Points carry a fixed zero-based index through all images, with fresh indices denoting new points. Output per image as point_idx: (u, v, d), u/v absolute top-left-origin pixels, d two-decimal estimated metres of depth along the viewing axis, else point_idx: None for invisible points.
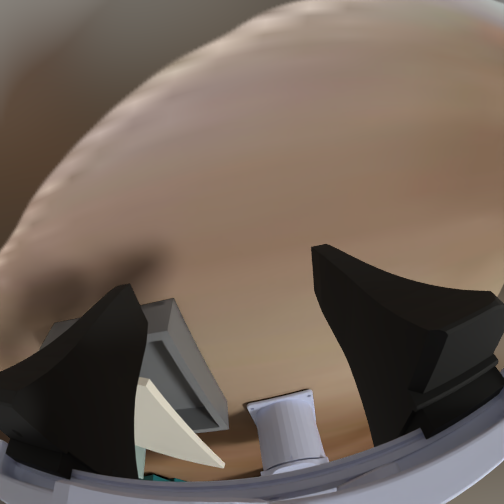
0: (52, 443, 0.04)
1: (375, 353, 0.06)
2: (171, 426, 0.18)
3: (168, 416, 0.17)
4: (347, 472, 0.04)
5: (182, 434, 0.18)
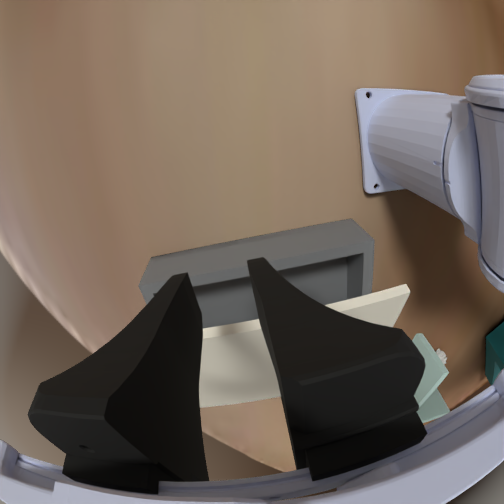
0: (144, 455, 0.04)
1: (278, 379, 0.06)
2: (231, 343, 0.14)
3: None
4: (346, 472, 0.04)
5: (254, 336, 0.14)
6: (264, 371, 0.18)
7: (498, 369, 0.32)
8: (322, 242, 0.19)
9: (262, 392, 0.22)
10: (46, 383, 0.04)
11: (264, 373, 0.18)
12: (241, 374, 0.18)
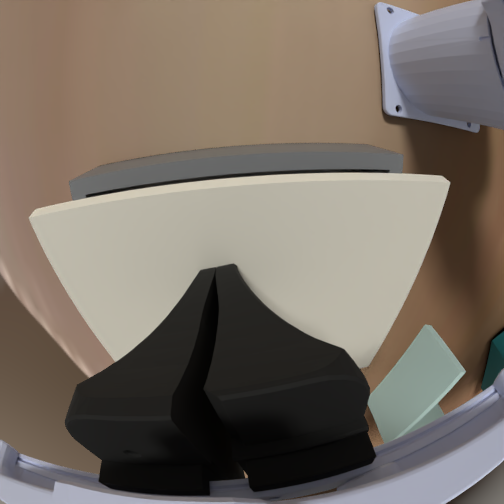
0: (202, 455, 0.04)
1: None
2: (181, 220, 0.09)
3: (121, 210, 0.08)
4: (346, 472, 0.04)
5: (219, 206, 0.09)
6: None
7: None
8: (333, 149, 0.13)
9: None
10: (85, 385, 0.04)
11: None
12: None
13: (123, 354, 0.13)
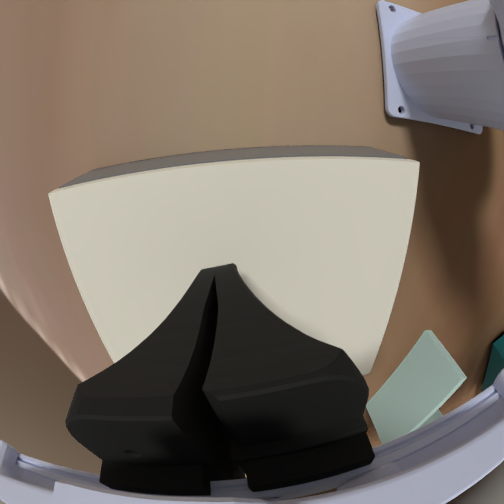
0: (203, 454, 0.04)
1: None
2: (182, 195, 0.10)
3: (131, 185, 0.10)
4: (346, 472, 0.04)
5: (214, 182, 0.10)
6: None
7: None
8: (335, 151, 0.12)
9: None
10: (86, 385, 0.04)
11: None
12: None
13: (120, 349, 0.14)
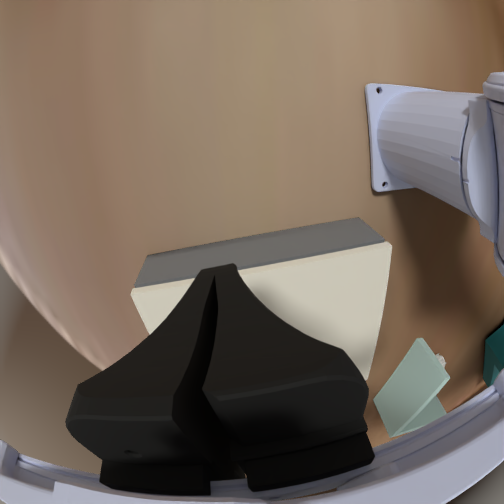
0: (203, 455, 0.04)
1: None
2: None
3: None
4: (346, 472, 0.04)
5: (251, 283, 0.16)
6: None
7: (497, 372, 0.32)
8: (330, 241, 0.18)
9: None
10: (86, 385, 0.04)
11: None
12: None
13: None
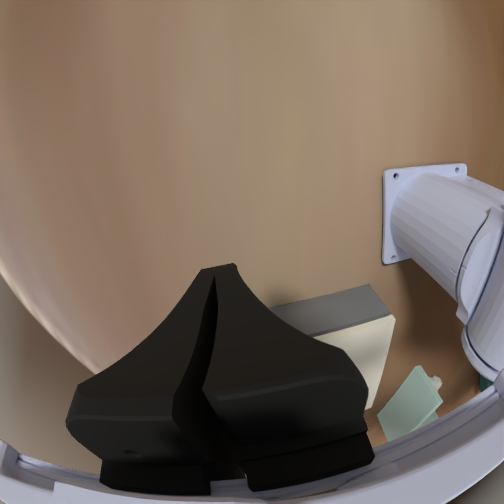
0: (202, 455, 0.04)
1: None
2: None
3: None
4: (346, 472, 0.04)
5: None
6: None
7: None
8: (345, 314, 0.21)
9: None
10: (85, 384, 0.04)
11: None
12: None
13: None
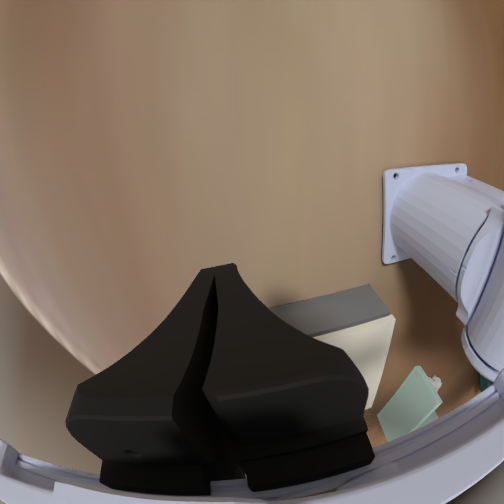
0: (203, 455, 0.04)
1: None
2: None
3: None
4: (346, 472, 0.04)
5: None
6: None
7: None
8: (345, 314, 0.21)
9: None
10: (85, 384, 0.04)
11: None
12: None
13: None
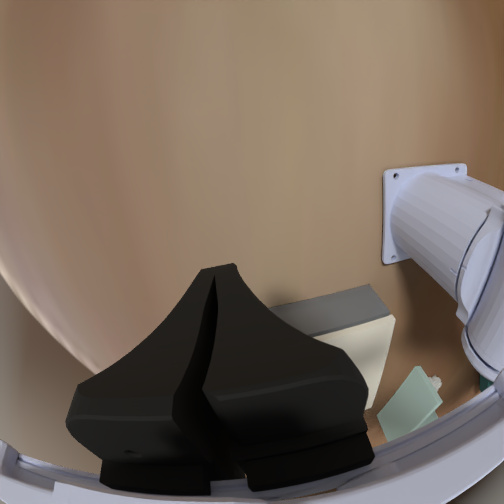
0: (203, 455, 0.04)
1: None
2: None
3: None
4: (346, 472, 0.04)
5: None
6: None
7: None
8: (345, 314, 0.21)
9: None
10: (85, 384, 0.04)
11: None
12: None
13: None
